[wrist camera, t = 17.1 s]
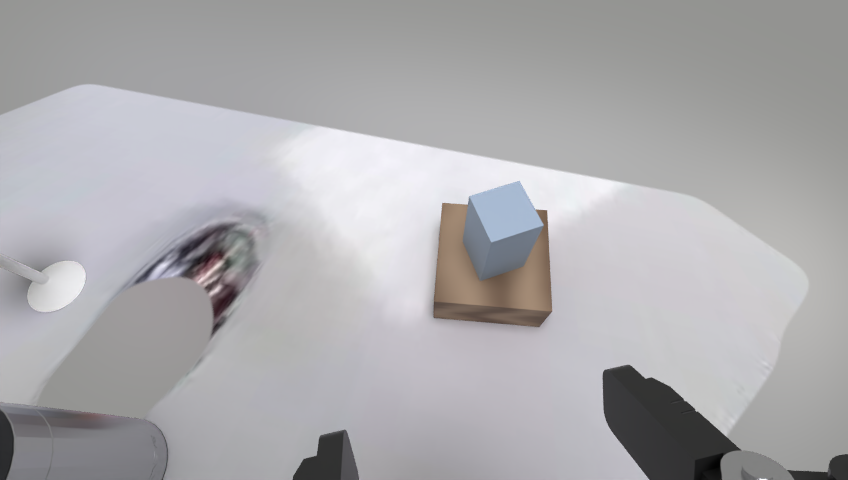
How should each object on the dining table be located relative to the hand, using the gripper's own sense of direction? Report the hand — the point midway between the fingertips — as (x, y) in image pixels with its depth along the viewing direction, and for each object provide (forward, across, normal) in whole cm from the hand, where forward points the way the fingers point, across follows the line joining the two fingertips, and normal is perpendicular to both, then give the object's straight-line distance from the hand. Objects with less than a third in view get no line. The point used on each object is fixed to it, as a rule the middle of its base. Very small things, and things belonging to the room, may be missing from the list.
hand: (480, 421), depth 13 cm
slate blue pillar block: (+31, -9, +7) cm, 33 cm away
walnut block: (+35, -9, +11) cm, 38 cm away
